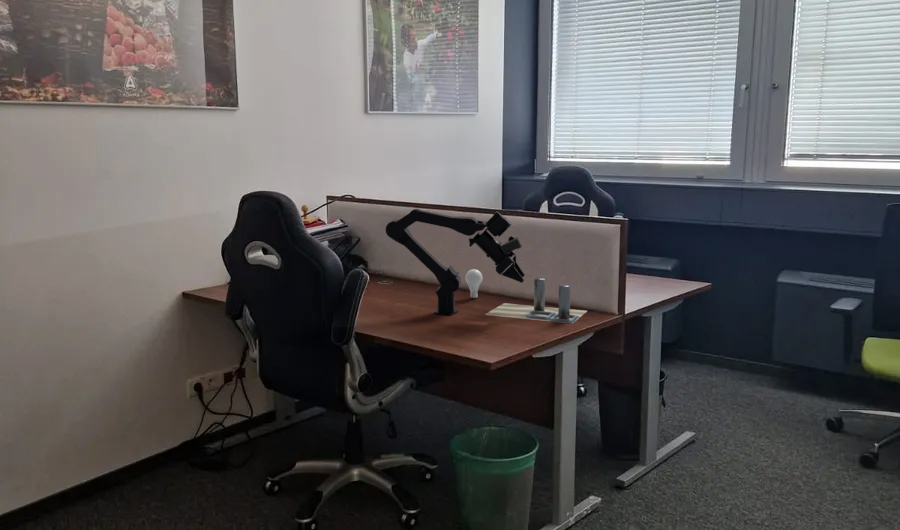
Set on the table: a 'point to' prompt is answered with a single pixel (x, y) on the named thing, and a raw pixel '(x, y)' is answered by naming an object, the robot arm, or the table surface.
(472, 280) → the lightbulb
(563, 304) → the fixed pin
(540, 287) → the pin
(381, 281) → the table surface
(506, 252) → the robot arm
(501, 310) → the board
